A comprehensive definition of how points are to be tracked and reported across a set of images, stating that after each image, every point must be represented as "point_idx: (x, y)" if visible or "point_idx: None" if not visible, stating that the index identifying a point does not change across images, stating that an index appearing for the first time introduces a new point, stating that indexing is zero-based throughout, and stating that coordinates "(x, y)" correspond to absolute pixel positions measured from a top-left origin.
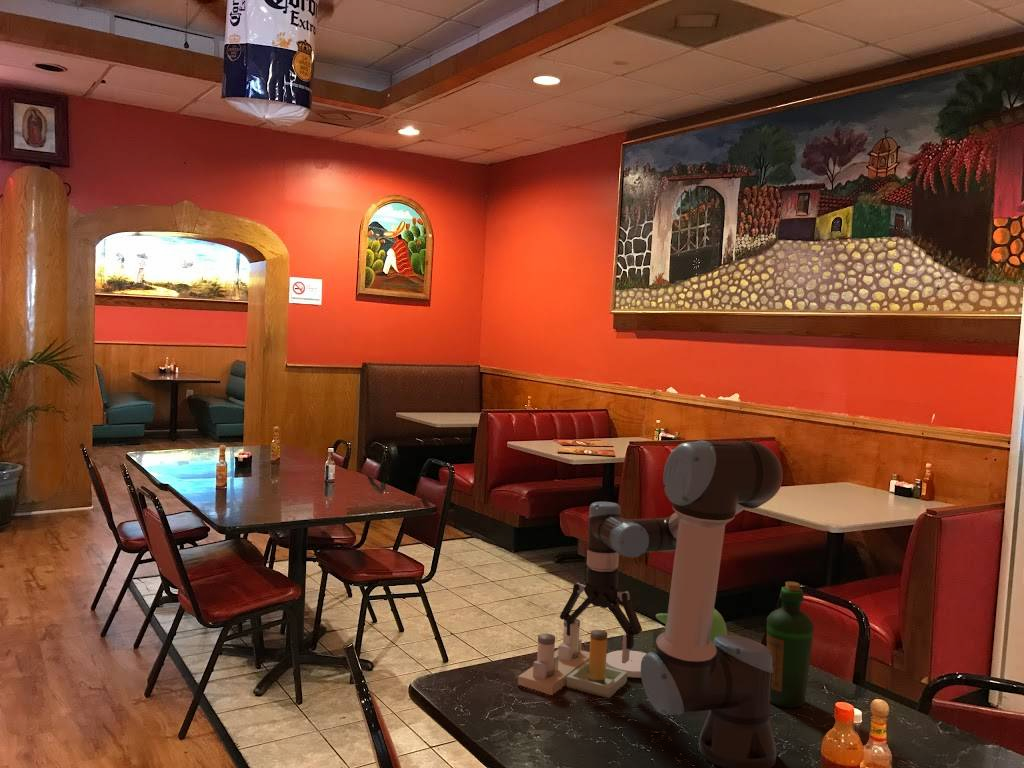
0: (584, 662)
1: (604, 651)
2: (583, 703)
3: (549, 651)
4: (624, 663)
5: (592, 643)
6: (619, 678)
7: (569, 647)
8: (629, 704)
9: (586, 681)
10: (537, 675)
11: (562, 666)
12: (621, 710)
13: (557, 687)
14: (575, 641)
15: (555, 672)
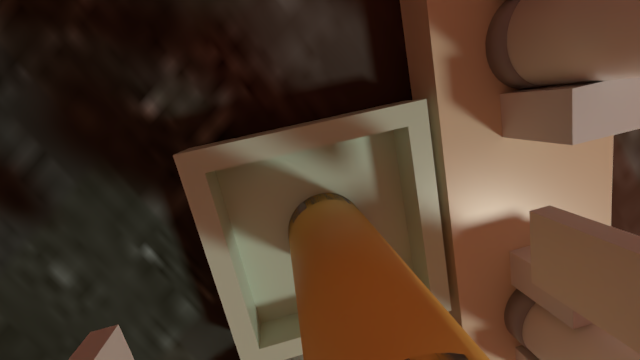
0: (456, 309)
1: (303, 339)
2: (233, 2)
3: None
4: (93, 331)
5: (423, 315)
6: (218, 288)
7: (573, 213)
8: (76, 167)
9: (314, 127)
10: None
11: (505, 186)
12: (48, 78)
13: (411, 16)
14: (588, 290)
15: (494, 98)
